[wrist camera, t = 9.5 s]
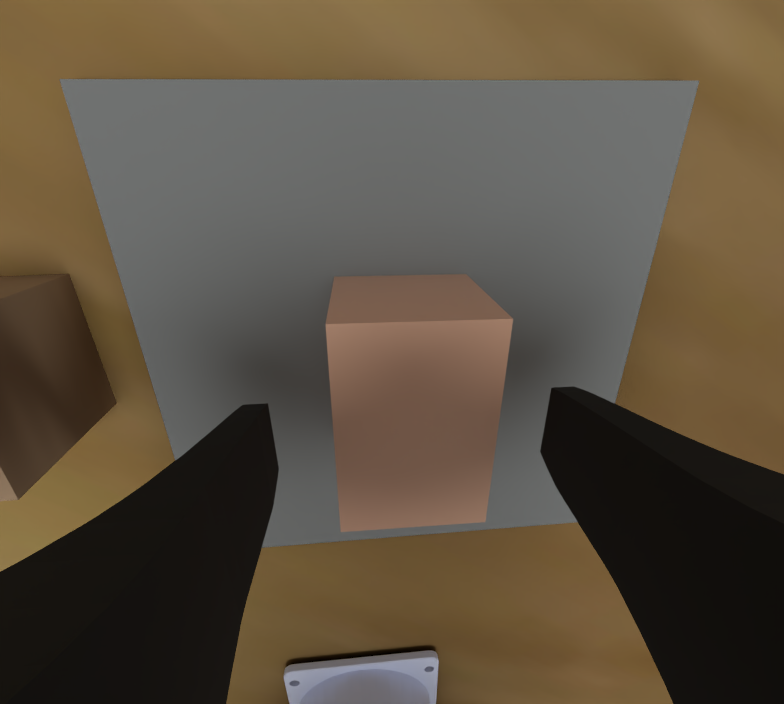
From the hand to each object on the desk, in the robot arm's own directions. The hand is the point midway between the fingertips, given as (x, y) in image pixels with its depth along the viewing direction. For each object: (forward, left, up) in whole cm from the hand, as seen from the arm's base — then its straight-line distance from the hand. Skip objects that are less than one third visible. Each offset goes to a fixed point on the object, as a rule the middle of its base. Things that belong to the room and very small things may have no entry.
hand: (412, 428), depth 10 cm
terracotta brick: (0, 0, -4) cm, 4 cm away
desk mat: (0, 0, -4) cm, 4 cm away
